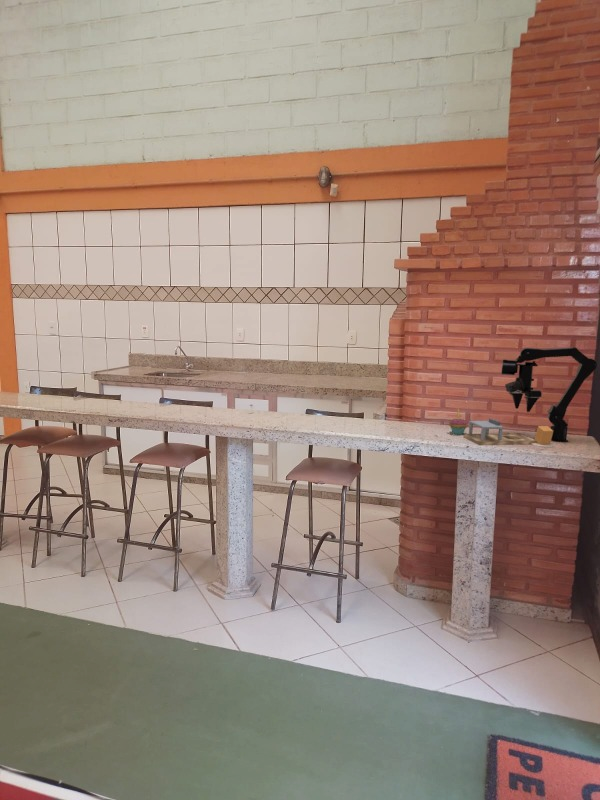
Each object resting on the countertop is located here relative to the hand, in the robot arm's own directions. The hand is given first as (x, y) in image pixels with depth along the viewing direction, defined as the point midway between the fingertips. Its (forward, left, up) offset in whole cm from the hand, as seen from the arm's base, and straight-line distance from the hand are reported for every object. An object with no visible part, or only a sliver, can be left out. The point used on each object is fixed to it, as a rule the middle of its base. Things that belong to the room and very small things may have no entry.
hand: (522, 410), depth 259 cm
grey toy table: (+20, +7, -11) cm, 24 cm away
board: (+13, +7, -13) cm, 20 cm away
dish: (-1, +16, -13) cm, 20 cm away
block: (-1, +16, -11) cm, 19 cm away
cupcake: (+26, -9, -13) cm, 30 cm away
